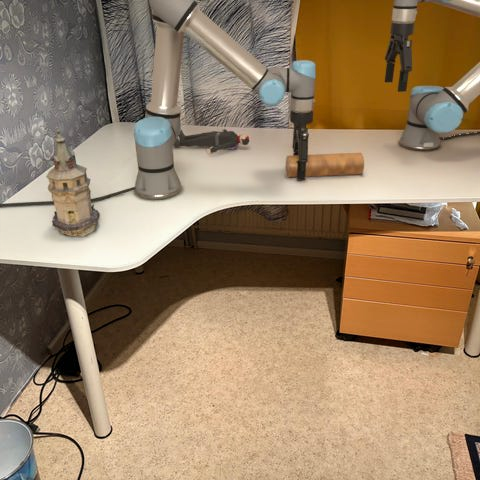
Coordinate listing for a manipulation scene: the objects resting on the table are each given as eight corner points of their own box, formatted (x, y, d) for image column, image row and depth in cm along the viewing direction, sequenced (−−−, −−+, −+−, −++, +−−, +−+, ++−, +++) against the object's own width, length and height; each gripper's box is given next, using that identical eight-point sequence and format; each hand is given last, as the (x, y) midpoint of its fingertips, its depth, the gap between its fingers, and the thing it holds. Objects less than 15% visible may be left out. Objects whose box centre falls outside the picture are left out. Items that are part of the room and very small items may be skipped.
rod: (289, 180, 184) (289, 160, 180) (285, 172, 191) (286, 152, 187) (362, 177, 186) (365, 157, 182) (356, 169, 192) (358, 149, 189)
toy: (185, 122, 227) (254, 122, 220) (186, 136, 230) (255, 137, 224) (165, 142, 205) (242, 143, 198) (167, 157, 208) (243, 159, 201)
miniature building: (80, 214, 164) (63, 117, 149) (111, 225, 157) (96, 125, 142) (44, 231, 154) (22, 130, 140) (75, 244, 147) (55, 139, 133)
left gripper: (319, 118, 168) (315, 186, 179) (307, 101, 185) (303, 163, 196) (296, 119, 167) (293, 187, 178) (285, 102, 185) (283, 164, 196)
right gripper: (429, 27, 167) (418, 95, 178) (400, 16, 189) (393, 78, 199) (405, 27, 167) (396, 96, 177) (380, 17, 188) (373, 78, 199)
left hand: (298, 174), depth 187 cm, fingers closed on rod, 7 cm apart
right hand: (394, 86), depth 188 cm, fingers open, 13 cm apart
